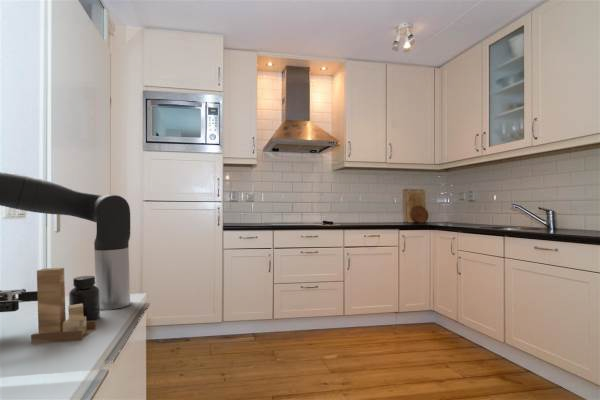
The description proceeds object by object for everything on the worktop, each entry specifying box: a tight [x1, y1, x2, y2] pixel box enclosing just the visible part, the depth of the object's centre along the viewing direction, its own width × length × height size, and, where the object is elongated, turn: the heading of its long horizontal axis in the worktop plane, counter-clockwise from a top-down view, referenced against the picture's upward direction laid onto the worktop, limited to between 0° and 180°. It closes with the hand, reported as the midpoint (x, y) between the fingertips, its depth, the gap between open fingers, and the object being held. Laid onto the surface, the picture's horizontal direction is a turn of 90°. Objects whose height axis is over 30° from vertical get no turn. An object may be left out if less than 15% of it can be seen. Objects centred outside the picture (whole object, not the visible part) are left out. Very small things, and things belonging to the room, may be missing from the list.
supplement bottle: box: [68, 275, 101, 321], centre depth 98 cm, size 7×7×12 cm
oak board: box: [36, 267, 67, 333], centre depth 86 cm, size 2×4×15 cm, turn 97°
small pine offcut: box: [67, 303, 84, 322], centre depth 87 cm, size 3×3×3 cm
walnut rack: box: [30, 320, 97, 345], centre depth 86 cm, size 8×10×3 cm
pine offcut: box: [63, 317, 87, 334], centre depth 86 cm, size 4×3×4 cm
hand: (29, 300), depth 86 cm, fingers open, 8 cm apart
